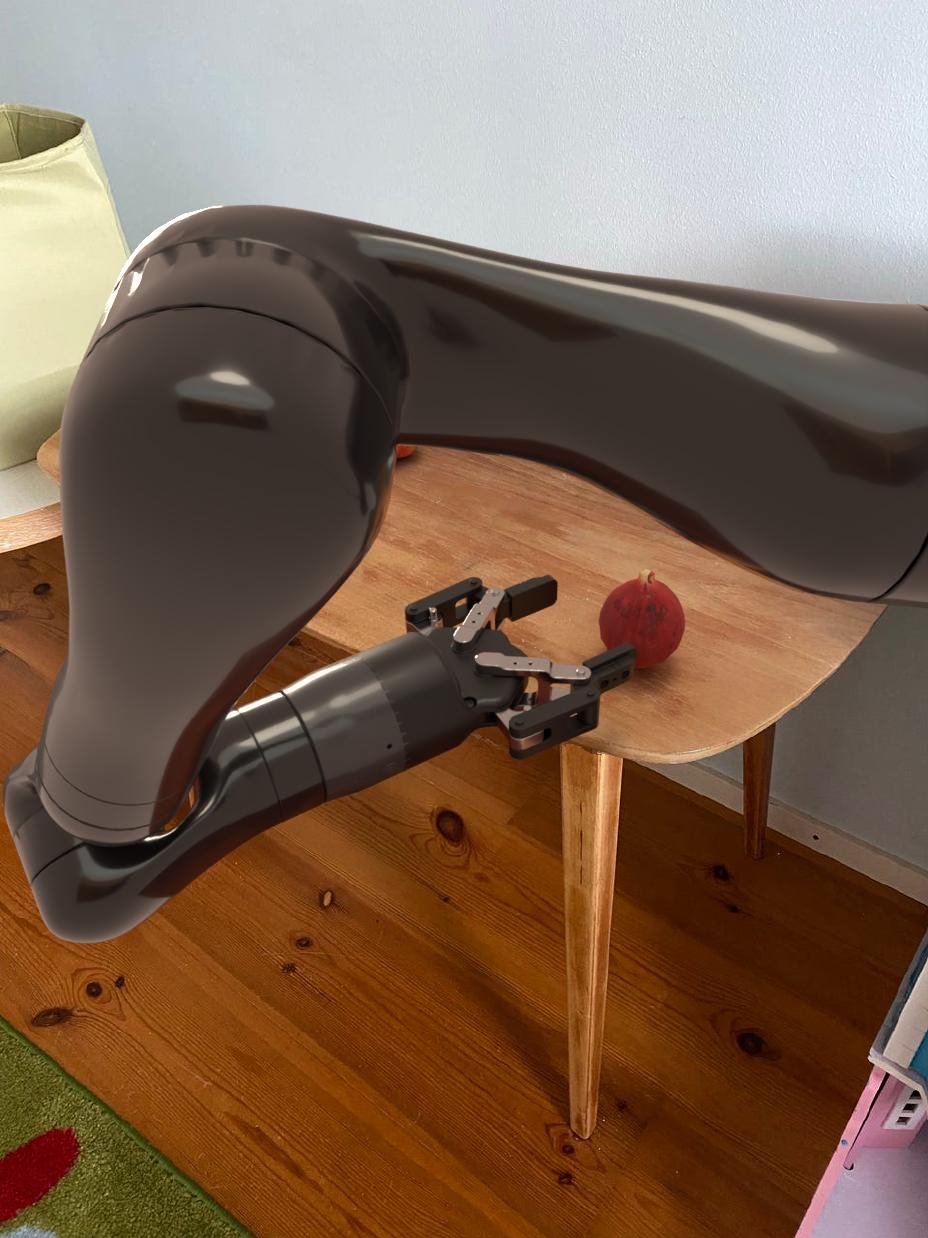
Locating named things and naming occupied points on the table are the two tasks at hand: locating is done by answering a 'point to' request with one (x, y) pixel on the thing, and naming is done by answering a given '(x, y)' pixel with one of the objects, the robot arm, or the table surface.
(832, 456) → the robot arm
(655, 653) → the onion
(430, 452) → the table surface
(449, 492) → the table surface
